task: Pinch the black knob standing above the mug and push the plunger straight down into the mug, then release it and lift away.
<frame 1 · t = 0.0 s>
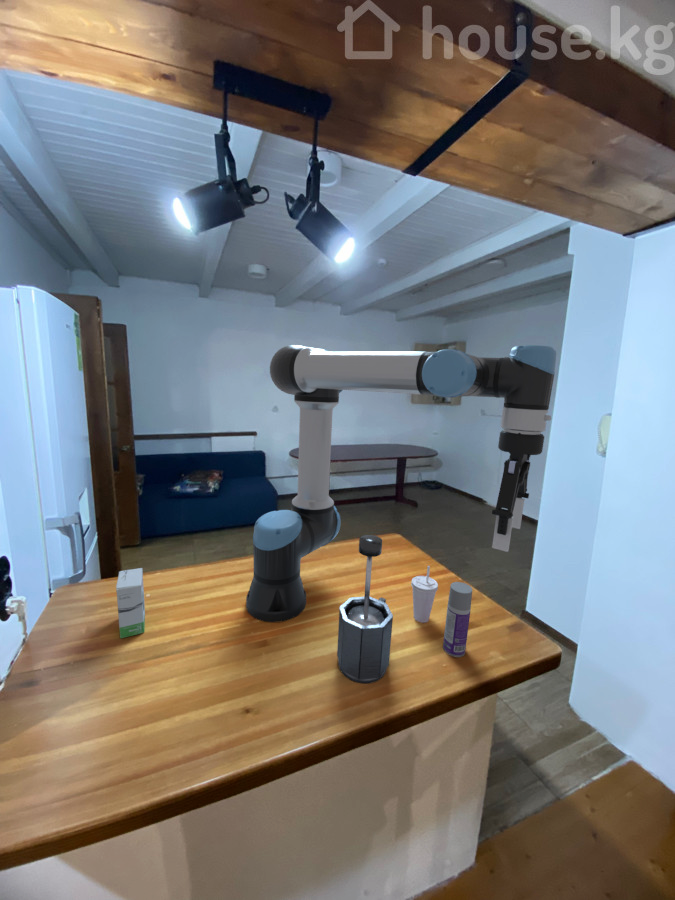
hand: (507, 537, 72), 28 cm above the table, fingers open, 13 cm apart
smoothie: (421, 618, 91), on the table
ink box: (133, 625, 83), on the table
mug: (362, 663, 75), on the table
plunger: (368, 580, 72), point 19 cm above the table, slide at 0.0 cm
container: (453, 650, 80), on the table
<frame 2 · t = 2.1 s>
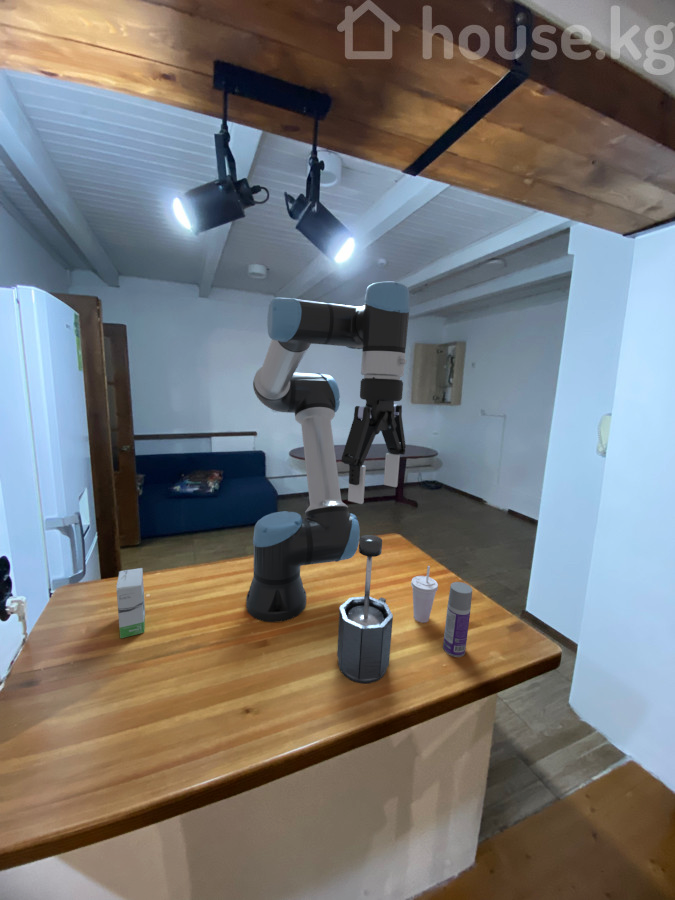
hand: (374, 493, 68), 37 cm above the table, fingers open, 13 cm apart
nothing on the table moved.
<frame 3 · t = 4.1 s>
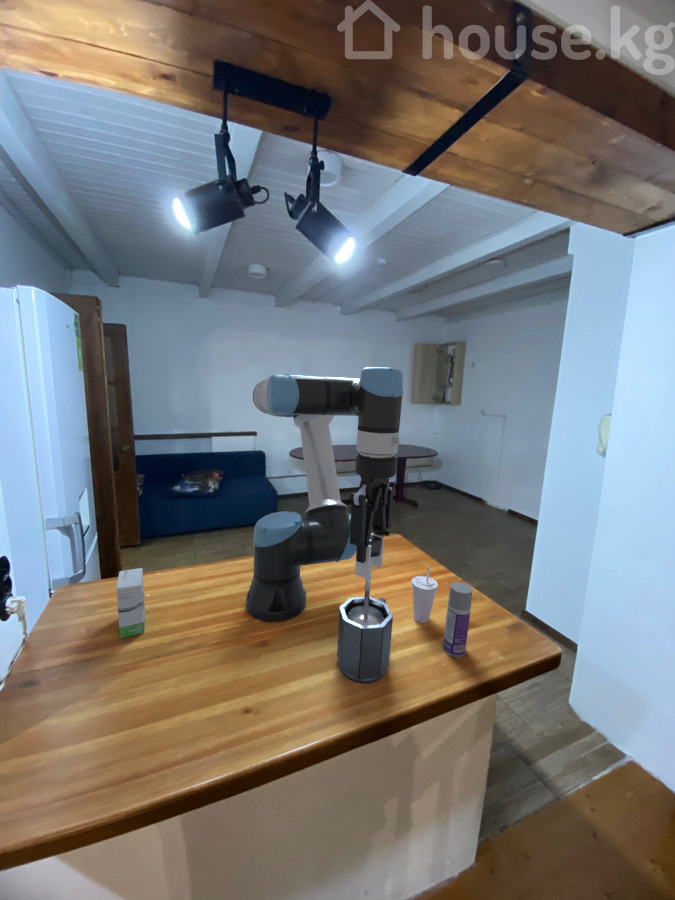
hand: (368, 570, 71), 21 cm above the table, fingers closed on plunger, 4 cm apart
plunger: (368, 580, 72), point 19 cm above the table, slide at 0.0 cm, touching gripper
everything else where it was.
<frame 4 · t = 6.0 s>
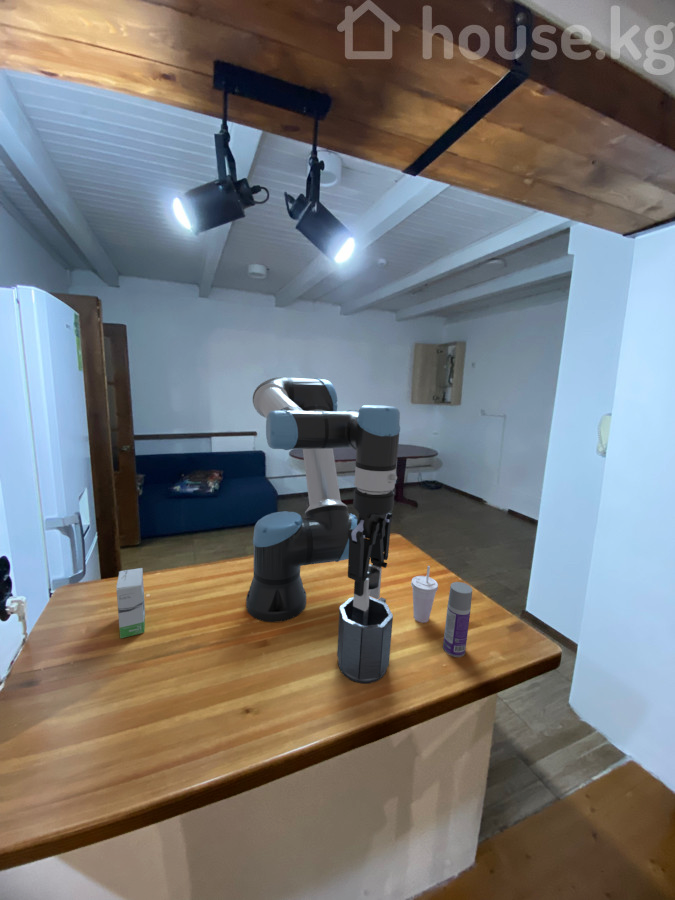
hand: (366, 601, 72), 14 cm above the table, fingers closed on plunger, 4 cm apart
plunger: (365, 611, 73), point 12 cm above the table, slide at 6.7 cm, touching gripper
everything else where it was.
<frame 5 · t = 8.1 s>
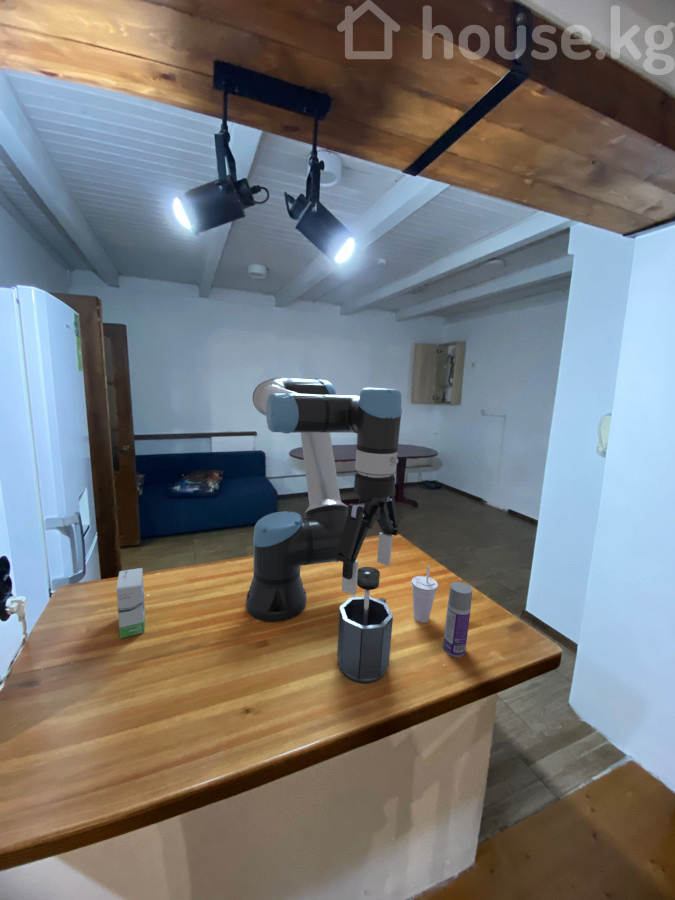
hand: (367, 576, 72), 19 cm above the table, fingers open, 13 cm apart
plunger: (365, 611, 73), point 12 cm above the table, slide at 6.8 cm
everything else where it was.
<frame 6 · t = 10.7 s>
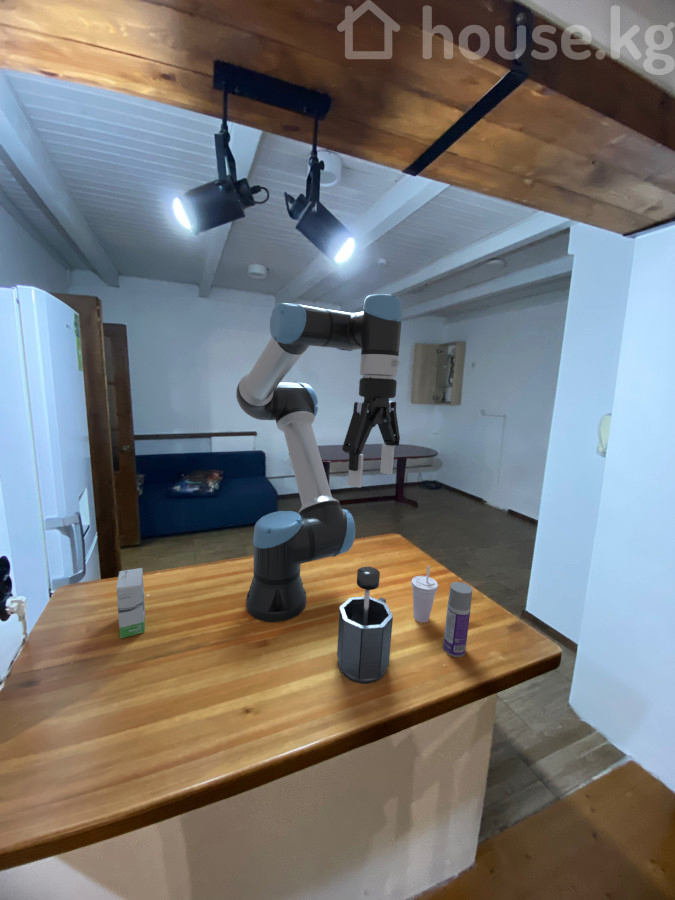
hand: (371, 479, 77), 37 cm above the table, fingers open, 13 cm apart
nothing on the table moved.
at the end: plunger slide at 6.8 cm; the gripper is holding nothing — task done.
